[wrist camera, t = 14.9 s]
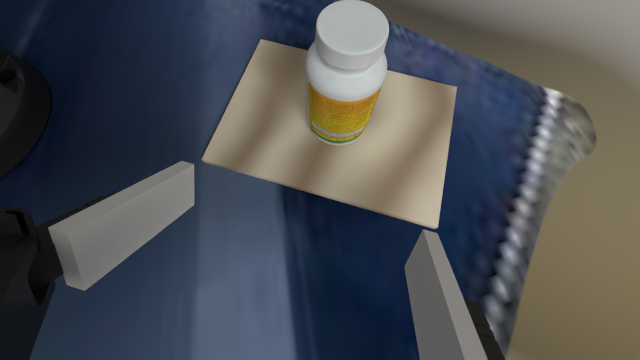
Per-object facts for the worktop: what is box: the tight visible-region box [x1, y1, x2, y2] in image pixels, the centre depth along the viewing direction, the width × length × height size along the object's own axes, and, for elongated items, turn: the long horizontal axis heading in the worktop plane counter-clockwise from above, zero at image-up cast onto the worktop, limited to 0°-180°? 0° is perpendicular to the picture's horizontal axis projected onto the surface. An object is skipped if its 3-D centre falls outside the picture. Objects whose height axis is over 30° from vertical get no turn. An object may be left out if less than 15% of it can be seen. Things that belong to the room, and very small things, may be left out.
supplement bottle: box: [305, 0, 389, 145], centre depth 18 cm, size 5×5×10 cm
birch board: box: [202, 39, 457, 229], centre depth 23 cm, size 20×14×1 cm
